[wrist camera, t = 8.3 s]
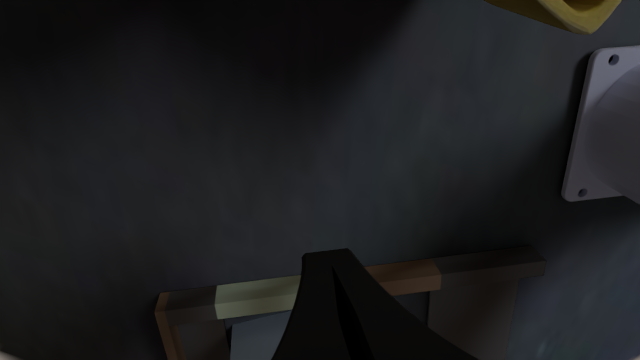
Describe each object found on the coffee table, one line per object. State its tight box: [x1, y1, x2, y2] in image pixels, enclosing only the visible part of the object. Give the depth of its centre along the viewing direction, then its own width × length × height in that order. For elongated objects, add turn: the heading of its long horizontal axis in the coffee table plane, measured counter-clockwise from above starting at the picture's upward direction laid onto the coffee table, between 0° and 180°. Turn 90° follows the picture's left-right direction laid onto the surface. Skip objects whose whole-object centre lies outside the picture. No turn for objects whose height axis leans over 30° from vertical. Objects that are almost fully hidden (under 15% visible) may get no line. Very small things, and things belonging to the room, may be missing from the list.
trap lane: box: [154, 246, 547, 360], centre depth 26 cm, size 21×11×2 cm, turn 93°
